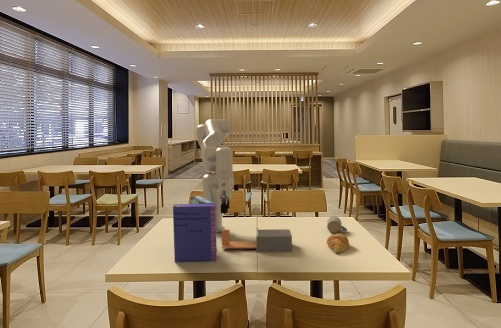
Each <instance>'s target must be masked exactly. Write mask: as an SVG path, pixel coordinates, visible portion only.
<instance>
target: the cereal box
mask: <svg viewBox="0 0 501 328" xmlns="http://www.w3.org/2000/svg"><path fill="white" fill-rule="evenodd" d="M172 218H173V243H174V244H173V250H174V251H173V252H174V253H173V255H174V263H193V262H194V263H197V262H199V263H200V262H203V263H205V262H206V263H207V262H217V258H218V254H217V252H218V251H217V250H218V249H217V248H218V247H217V233H216V204H191V203H177V204H175V203H174V204H173V207H172Z"/></svg>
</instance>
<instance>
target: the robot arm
mask: <svg viewBox="0 0 501 328" xmlns="http://www.w3.org/2000/svg"><path fill="white" fill-rule="evenodd" d="M195 130H196V131H195V134H196V135H195V136H196V140H197V142H198V146H199V147H200V149H201V157H202V166H203V171H205V172H206V173H207V174H204V175H203V177H202V179H201V185H202V189H203V198H204V199H206V200H208V201H210V202H213V204H216V234H217V233H222V229H226V227H225V226H223V220H222V219H223V216H222V215H223V214H228V212H229V211H228V210H229V209H230V200H231V199H232V189H234V186H235V179H234V178H235V177H234V171H233V166H234V165H233V162H234V161H233V159H234V158H233V156H234V153H233V149H232V148H231V147H229V146H220V145H221V144H222V143H223V142H224V140H225V139H227V138H228V137H229V135H231V133H232V123H231V121H230V120H228V119H227V118H212V119H208V120H206V121H205V122H204V124H199V125H198V126H196V129H195ZM217 191H218V192H219V193H218V192H217Z"/></svg>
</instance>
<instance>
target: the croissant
mask: <svg viewBox="0 0 501 328" xmlns="http://www.w3.org/2000/svg"><path fill="white" fill-rule="evenodd" d="M349 240H350V239H349V238H348V237H347V235H345V233H343V232H337V233H332V234H331V235H330V236H328V237H327V239H326V244H327V246H328V247H329V249H331V251H333V253H335V254H340V253H344V252H346V251H347V250H349V248H350V241H349Z"/></svg>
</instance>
